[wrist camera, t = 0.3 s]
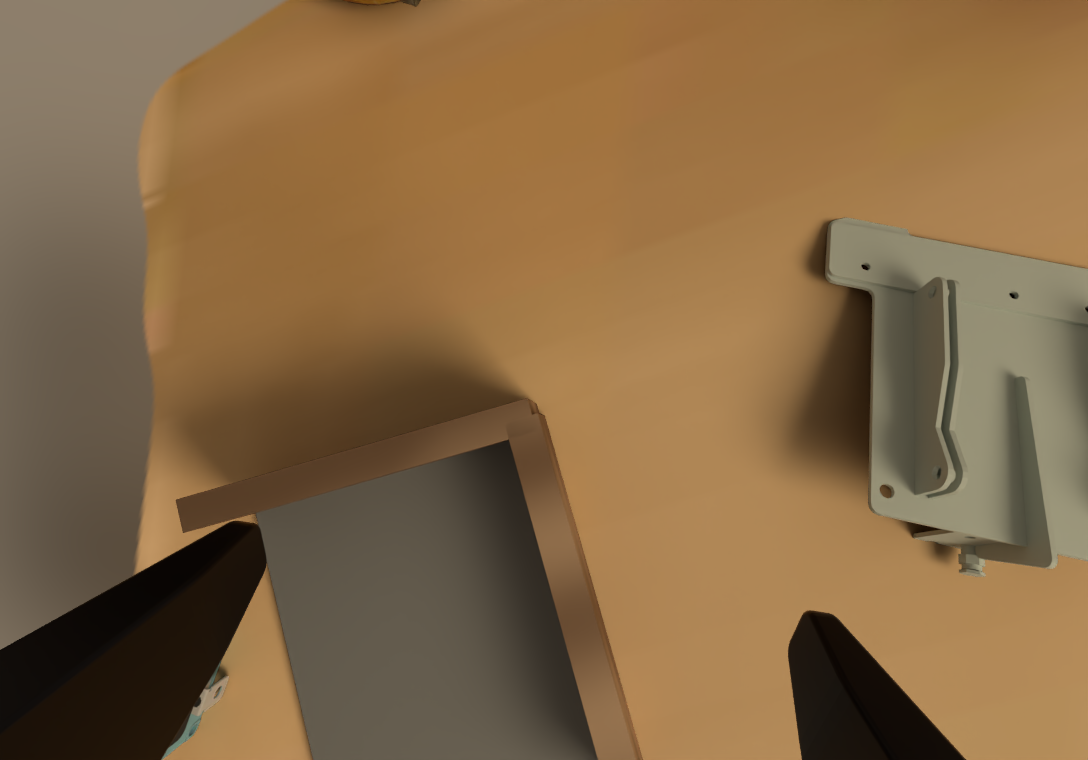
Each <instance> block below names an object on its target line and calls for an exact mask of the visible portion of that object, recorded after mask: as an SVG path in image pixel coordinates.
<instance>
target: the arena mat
mask: <svg viewBox="0 0 1088 760" xmlns="http://www.w3.org/2000/svg"><path fill="white" fill-rule="evenodd" d="M256 516H257V521H258V525H259V527H260V529H261V533H262V538H263V543H264V547H265V552H266V557H267V564H268V568H269V572H270V576H271V581H272V585H273V589H274V594H275V598H276V602H277V607H278V611H279V615H280V619H281V624H282V628H283V632H284V637H285V641H286V645H287V649H288V654H289V658H290V662H291V667H292V671H293V675H294V680H295V684H296V688H297V692H298V697H299V701H300V705H301V710H302V714H303V718H304V723H305V727H306V731H307V735H308V740H309V744H310V748H311V753H312V757H313V760H598V758H597V754H596V751H595V747H594V744H593V740H592V736H591V733H590V729H589V726H588V722H587V718H586V715H585V711H584V708H583V704H582V700H581V697H580V693H579V690H578V686H577V682H576V679H575V675H574V672H573V668H572V664H571V661H570V657H569V654H568V650H567V647H566V643H565V639H564V636H563V632H562V629H561V625H560V621H559V618H558V614H557V611H556V607H555V603H554V600H553V596H552V593H551V589H550V585H549V582H548V578H547V575H546V571H545V567H544V564H543V560H542V557H541V553H540V549H539V546H538V542H537V539H536V535H535V532H534V528H533V524H532V521H531V517H530V514H529V510H528V506H527V503H526V499H525V496H524V492H523V488H522V485H521V481H520V478H519V474H518V470H517V467H516V463H515V460H514V456H513V452H512V449H511V445H510V442H509V440H508V441H505V442H501V443H498V444H495V445H491V446H488V447H484V448H481V449H477V450H474V451H470V452H467V453H463V454H460V455H456V456H453V457H449V458H446V459H442V460H439V461H435V462H432V463H428V464H425V465H421V466H418V467H414V468H411V469H408V470H404V471H401V472H397V473H394V474H390V475H387V476H383V477H380V478H376V479H373V480H369V481H366V482H362V483H359V484H355V485H352V486H348V487H345V488H341V489H338V490H334V491H331V492H327V493H324V494H321V495H317V496H314V497H310V498H307V499H303V500H300V501H296V502H293V503H289V504H286V505H282V506H279V507H275V508H272V509H268V510H265V511H261V512H258V513H256Z"/></svg>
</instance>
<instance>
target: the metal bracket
mask: <svg viewBox="0 0 1088 760" xmlns="http://www.w3.org/2000/svg"><path fill="white" fill-rule="evenodd" d="M861 265H866V266H867V267H868V270H864V269H863V268H862V266H861ZM825 277H826V279H827V280H828V281H829V282H830V283H833V284H837V285H842V286H847V287H852V288H858V289H863V290H866V291H868V292H869V293H870V294H871V296H872V340H871V389H870V438H869V487H868V504H869V508H870V509H871V511H872V512H873V513H875V514H877V515H880V516H885V517H889V518H894V519H898V520H903V521H907V522H912V523H916V524H921V525H926V526H930V527H935V528H939V529H941V530H935V531H928V532H922V533H916V534H914V537H913V538H914V539H919V540H923V541H935V542H936V543H937V544H941V545H946V546H950V547H955V548H959V549H961V554H958V555H959V564H962V569H961V570H959V573H961V574H964V575H969V576H975V577H985V573H983V572H982V567H985V560H991V561H998V562H1005V563H1012V564H1019V565H1026V566H1033V567H1040V568H1047V569H1053V568H1054V567H1056V565H1057V563H1058V557H1057V555H1061V556H1066V557H1070V558H1075V559H1079V560H1084V561H1088V312H1087V311H1086V310H1085V308H1088V269H1085V268H1079V267H1074V266H1069V265H1063V264H1058V263H1053V262H1048V261H1042V260H1037V259H1032V258H1026V257H1021V256H1016V255H1010V254H1005V253H1000V252H994V251H989V250H984V249H979V248H973V247H968V246H963V245H957V244H952V243H947V242H941V241H936V240H931V239H925V238H920V237H915V236H911V235H910V234H909V233H908V230H907V229H903V228H898V227H893V226H888V225H883V224H878V223H872V222H867V221H862V220H857V219H852V218H842V219H838V220H834V221H832V222H831V223H830V224H829V226H828V230H827V248H826V267H825ZM1009 293H1011V294H1013V295H1014V296H1015V299H1013V298H1011V297H1010V295H1009ZM881 485H886V486H888V487H889V488H890V489H891V492H892V494H891V497H890V498H885V497H883V496H882V494H881V493H880V486H881Z"/></svg>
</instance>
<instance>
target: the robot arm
mask: <svg viewBox="0 0 1088 760" xmlns="http://www.w3.org/2000/svg"><path fill="white" fill-rule="evenodd" d="M266 563H267V557H266V552H265V547H264V543H263V538H262V533H261V529H260V527H259V526H258V525H257V524H255V523H249V522H243V521H232V522H229V523H227V524H225V525H224V526H222V527H220V528H218V529H216V530H215V531H213V532H211V533H209V534H207V535H206V536H204V537H202V538H200V539H198V540H197V541H195V542H193V543H191V544H189V545H188V546H186V547H184V548H182V549H180V550H179V551H177V552H175V553H173V554H172V555H170V556H168V557H166V558H164V559H163V560H161V561H159V562H157V563H155V564H154V565H152V566H150V567H148V568H146V569H145V570H143V571H141V572H139V573H137V574H136V575H134V576H132V577H130V578H129V579H127V580H125V581H123V582H121V583H120V584H118V585H116V586H114V587H113V588H111V589H109V590H107V591H105V592H103V593H102V594H100V595H98V596H96V597H94V598H93V599H91V600H89V601H87V602H85V603H84V604H82V605H80V606H78V607H77V608H75V609H73V610H71V611H69V612H67V613H66V614H64V615H62V616H60V617H59V618H57V619H55V620H53V621H51V622H50V623H48V624H46V625H44V626H42V627H41V628H39V629H37V630H35V631H33V632H32V633H30V634H28V635H26V636H25V637H23V638H21V639H19V640H17V641H15V642H14V643H12V644H10V645H8V646H7V647H5V648H3V649H1V650H0V760H161V759H162V758H163V756H164V754H165V753H166V751H167V750H168V748H169V746H170V745H171V743H172V741H173V740H174V738H175V736H176V735H177V733H178V731H179V730H180V728H181V726H182V725H183V723H184V722H185V720H186V718H187V717H188V715H189V713H190V712H191V710H192V708H193V707H194V705H195V703H196V702H197V700H198V699H199V697H200V695H201V694H202V692H203V690H204V689H205V687H206V685H207V684H208V682H209V680H210V679H211V677H212V675H213V674H214V672H215V670H216V669H217V667H218V665H219V663H220V662H221V660H222V658H223V656H224V654H225V652H226V650H227V648H228V646H229V645H230V642H231V640H232V638H233V636H234V634H235V632H236V630H237V628H238V626H239V624H240V622H241V620H242V617H243V615H244V613H245V611H246V609H247V607H248V605H249V603H250V601H251V599H252V597H253V595H254V593H255V590H256V588H257V586H258V584H259V582H260V580H261V578H262V576H263V574H264V571H265V568H266ZM788 659H789V667H790V675H791V682H792V690H793V698H794V705H795V713H796V721H797V728H798V736H799V743H800V750H801V756H802V760H966V759H965V758H964V757H963V756H962V755H961V754H960V753H959V751H958V750H957V749H956V748H955V747H954V746H953V745H952V744H951V743H950V742H949V740H948V739H947V738H946V737H945V736H944V735H943V734H942V733H941V732H940V731H939V729H938V728H937V727H936V726H935V725H934V724H933V723H932V722H931V721H930V720H929V718H928V717H927V716H926V715H925V714H924V713H923V712H922V711H921V710H920V709H919V707H918V706H917V705H916V704H915V703H914V702H913V701H912V700H911V699H910V698H909V696H908V695H907V694H906V693H905V692H904V691H903V690H902V689H901V688H900V686H899V685H898V684H897V683H896V682H895V681H894V680H893V679H892V678H891V677H890V675H889V674H888V673H887V672H886V671H885V670H884V669H883V668H882V667H881V666H880V664H879V663H878V662H877V661H876V660H875V659H874V658H873V657H872V656H871V655H870V653H869V652H868V651H867V650H866V649H865V648H864V647H863V646H862V645H861V644H860V642H859V641H858V640H857V639H856V638H855V637H854V636H853V635H852V634H851V633H850V631H849V630H848V629H847V628H846V627H845V626H844V625H843V624H842V623H841V621H840V620H839V619H838V618H837V617H835V616H834V615H832V614H830V613H824V612H818V611H811V610H809V611H806V612H804V613H803V615H802V617H801V619H800V621H799V623H798V625H797V627H796V630H795V632H794V634H793V636H792V638H791V640H790V643H789V648H788Z"/></svg>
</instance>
